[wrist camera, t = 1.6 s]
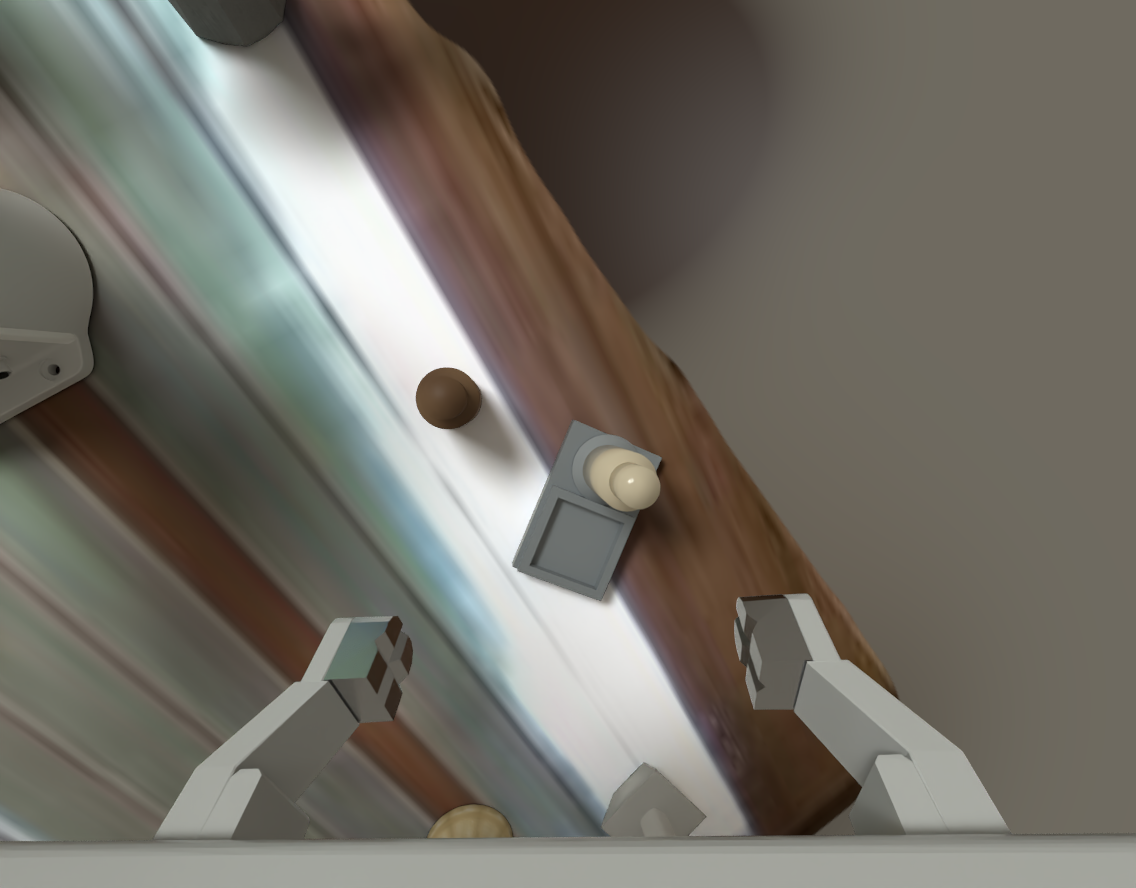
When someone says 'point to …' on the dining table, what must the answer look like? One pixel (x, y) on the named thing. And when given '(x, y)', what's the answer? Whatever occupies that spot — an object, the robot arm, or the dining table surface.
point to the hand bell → (471, 823)
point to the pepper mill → (448, 398)
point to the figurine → (650, 808)
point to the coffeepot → (231, 19)
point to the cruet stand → (587, 510)
